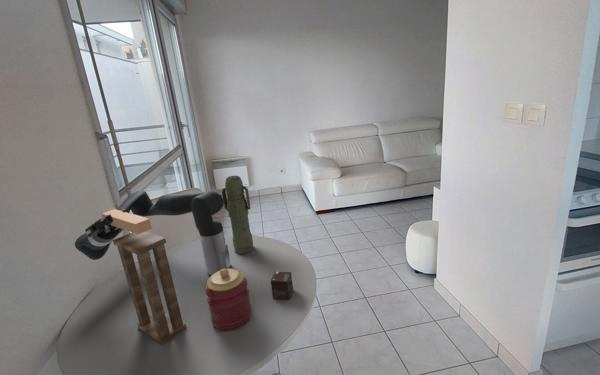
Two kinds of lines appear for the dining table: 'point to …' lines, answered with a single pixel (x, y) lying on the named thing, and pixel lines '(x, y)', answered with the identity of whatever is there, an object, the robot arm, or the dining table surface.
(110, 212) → the terracotta bar
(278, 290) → the box
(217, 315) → the canister
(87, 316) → the dining table surface
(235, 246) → the thermos
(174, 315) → the walnut shelf stand
